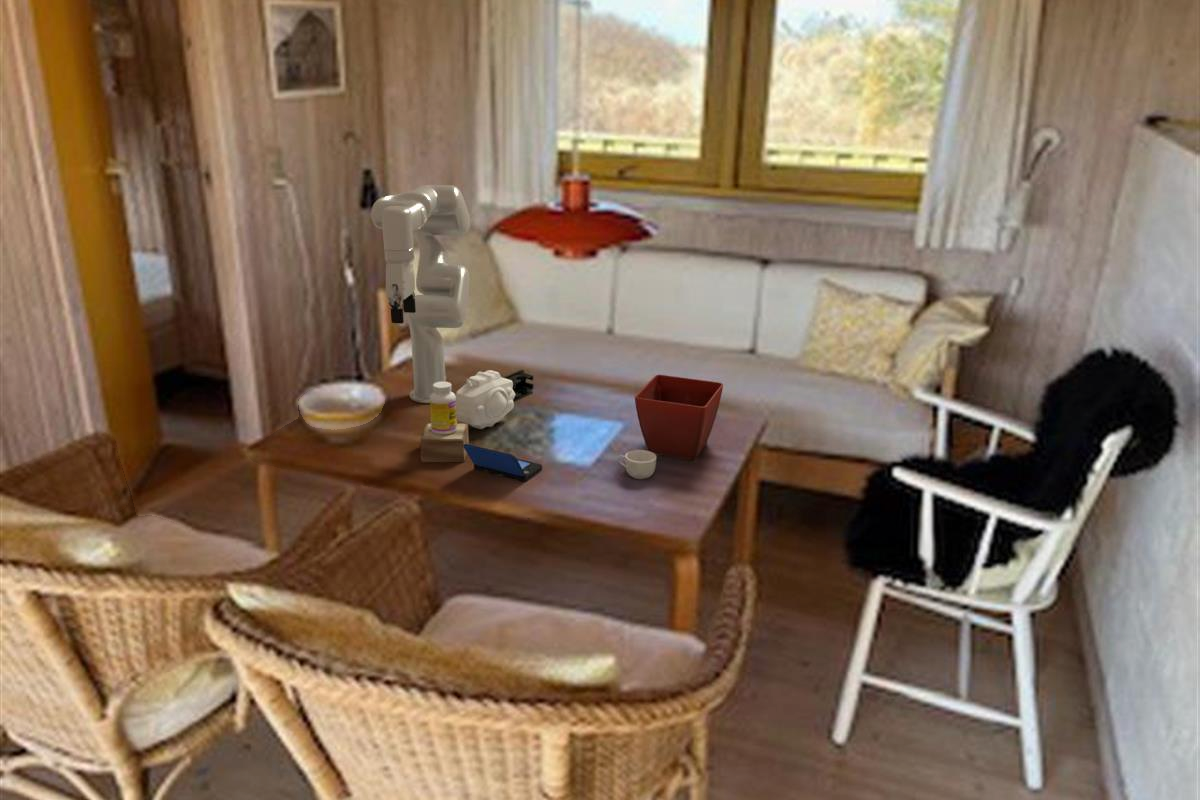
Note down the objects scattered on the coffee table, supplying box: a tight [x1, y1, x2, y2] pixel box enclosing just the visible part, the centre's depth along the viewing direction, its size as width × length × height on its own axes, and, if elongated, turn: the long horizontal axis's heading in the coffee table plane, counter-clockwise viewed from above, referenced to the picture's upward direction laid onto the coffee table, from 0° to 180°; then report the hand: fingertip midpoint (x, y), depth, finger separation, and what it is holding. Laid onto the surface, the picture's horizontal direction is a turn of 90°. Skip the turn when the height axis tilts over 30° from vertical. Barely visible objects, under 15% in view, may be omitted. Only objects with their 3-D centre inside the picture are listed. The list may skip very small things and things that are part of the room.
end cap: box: [501, 369, 534, 402], centre depth 282 cm, size 10×7×7 cm
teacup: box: [617, 449, 657, 480], centre depth 232 cm, size 10×8×5 cm
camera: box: [455, 369, 515, 430], centre depth 258 cm, size 11×18×16 cm, turn 143°
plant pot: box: [634, 374, 724, 461], centre depth 245 cm, size 19×19×17 cm
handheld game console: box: [464, 443, 543, 483], centre depth 231 cm, size 16×13×9 cm
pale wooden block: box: [419, 423, 470, 463], centre depth 242 cm, size 11×11×6 cm
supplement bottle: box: [429, 381, 458, 435], centre depth 239 cm, size 7×7×13 cm
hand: (403, 317), depth 247 cm, fingers open, 9 cm apart
